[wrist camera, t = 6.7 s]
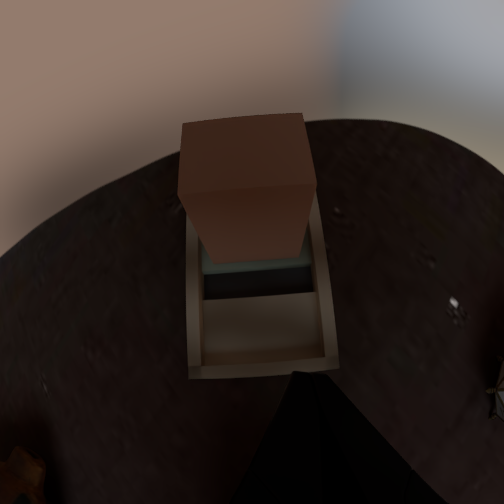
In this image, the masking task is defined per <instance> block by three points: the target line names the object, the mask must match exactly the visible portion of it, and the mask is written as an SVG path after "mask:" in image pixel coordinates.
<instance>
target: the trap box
mask: <svg viewBox="0 0 504 504" xmlns="http://www.w3.org/2000/svg"><path fill="white" fill-rule="evenodd" d="M186 321H187V352H188V374H189V379H217V378H242V377H259V376H273V375H285V374H291V373H292V371H302V372H314V371H323V370H331V369H338V368H339V357H338V346H337V336H336V327H335V318H334V309H333V301H332V293H331V285H330V277H329V270H328V263H327V256H326V249H325V243H324V236H323V230H322V224H321V218H320V212H319V206H318V200H317V195H316V190H315V194H314V199H313V203H312V207H311V211H310V215H309V219H308V223H307V227H306V231H305V235H304V239H303V243H302V247H301V251H300V255H299V258H287V259H274V260H261V261H248V262H235V263H222V264H213V262H212V260H211V259H210V257H209V255H208V253H207V251H206V249H205V247H204V245H203V243H202V242H201V240H200V238H199V236H198V234H197V232H196V230H195V228H194V226H193V224H192V222H191V221H190V219H189V217H188V215H187V219H186Z"/></svg>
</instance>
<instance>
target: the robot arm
mask: <svg viewBox="0 0 504 504" xmlns="http://www.w3.org/2000/svg"><path fill="white" fill-rule="evenodd" d="M411 469H412V468H411V466H410V465H409V464H408V463H407V462H406V461H405V460H404V459H403V458H402V457H401V456H400V455H399V454H398V452H397V451H396V450H395V449H394V448H393V447H392V446H391V445H390V444H389V443H388V442H387V441H386V439H385V438H384V437H383V436H382V435H381V434H380V433H379V432H378V431H377V430H376V429H375V427H374V426H373V425H372V424H371V423H370V422H369V421H368V420H367V419H366V418H365V416H364V415H363V414H362V413H361V412H360V411H359V410H358V409H357V408H356V407H355V405H354V404H353V403H352V402H351V401H350V400H349V399H348V398H347V397H346V395H345V394H344V393H343V392H342V391H341V390H340V389H339V388H338V386H337V385H336V384H335V383H334V382H333V381H332V380H331V379H330V377H329V376H328V375H326V374H320V373H310V374H309V373H308V372H302V371H292V373H291V375H290V378H289V380H288V382H287V385H286V387H285V389H284V392H283V394H282V396H281V399H280V401H279V403H278V406H277V408H276V410H275V412H274V415H273V417H272V419H271V421H270V424H269V426H268V428H267V430H266V432H265V434H264V437H263V439H262V441H261V443H260V445H259V447H258V449H257V451H256V454H255V456H254V458H253V460H252V462H251V464H250V466H249V468H248V470H247V472H246V473H245V475H244V477H243V479H242V481H241V483H240V485H239V487H238V489H237V490H236V492H235V494H234V495H233V497H232V499H231V501H230V502H229V504H449V503H447V502H446V501H445V500H444V499H443V498H442V497H440V496H439V495H438V494H437V493H436V492H435V491H434V490H433V489H432V488H431V487H430V486H429V485H428V484H427V483H426V482H425V481H424V480H423V479H422V478H421V477H420V476H419V475H418V474H417V473H416V472H415V470H411Z"/></svg>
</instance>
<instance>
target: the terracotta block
mask: <svg viewBox="0 0 504 504" xmlns="http://www.w3.org/2000/svg"><path fill="white" fill-rule="evenodd" d="M316 186H317V181H316V175H315V170H314V165H313V160H312V156H311V151H310V146H309V141H308V137H307V132H306V128H305V123H304V119H303V115H302V113H286V114H269V115H254V116H242V117H232V118H222V119H213V120H204V121H197V122H189V123H183V125H182V137H181V149H180V162H179V177H178V194H177V195H178V197H179V199H180V201H181V203H182V205H183V207H184V209H185V211H186V213H187V215H188V217H189V219H190V221H191V222H192V224H193V226H194V228H195V230H196V232H197V234H198V236H199V238H200V240H201V242H202V243H203V245H204V247H205V249H206V251H207V253H208V255H209V257H210V259H211V260H212V262H213V264H222V263H235V262H248V261H261V260H274V259H287V258H299V255H300V251H301V247H302V243H303V239H304V235H305V231H306V227H307V223H308V219H309V215H310V211H311V207H312V203H313V199H314V194H315V190H316Z"/></svg>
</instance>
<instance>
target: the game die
mask: <svg viewBox="0 0 504 504" xmlns="http://www.w3.org/2000/svg"><path fill="white" fill-rule="evenodd" d="M496 358H497V361H499V362H501V363H502V364H501V368H500V372H499V376H498V380H497V383H496V387H495V388H494V387H489V388H488V389H487V390H486V392H487V393H488V394H493V393H495V402H496V413H493V414H491V415H490V418H489V419H491V420H494V418H496V417H497V416H498V417H499V418H500V419H501V420H502V421H503V422H504V359H503V356H501V355H500V356H496Z"/></svg>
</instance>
